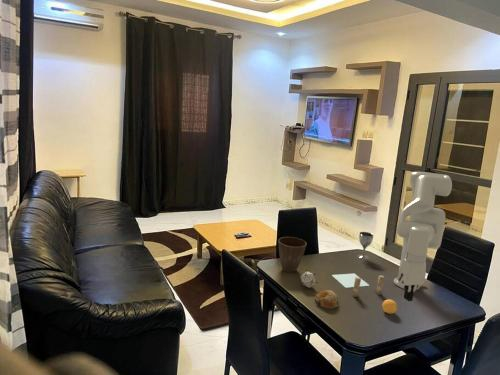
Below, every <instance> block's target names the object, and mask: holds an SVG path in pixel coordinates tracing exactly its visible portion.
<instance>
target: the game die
mask: <svg viewBox="0 0 500 375" xmlns="http://www.w3.org/2000/svg"><path fill="white" fill-rule="evenodd" d="M315 275H316V273H313V272H310V271H308V269H306V270H305V272H304V273H302V275H298V278H300V282H301V286H302V287H303V286H304V287H306V288H307V289H308V290H311V288H312V287H314V286H315V284H319V282H317V279H316V276H315Z"/></svg>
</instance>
